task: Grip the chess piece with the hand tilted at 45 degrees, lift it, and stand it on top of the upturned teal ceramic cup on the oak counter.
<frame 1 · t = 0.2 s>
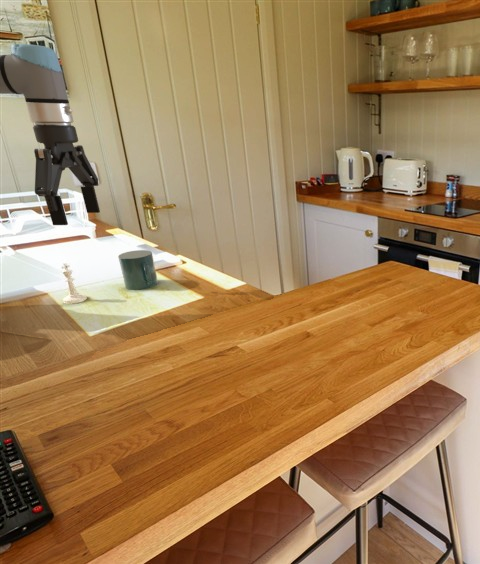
hand: (78, 218, 102), 21 cm above the breakfast bar, tool pointing down, fingers open, 13 cm apart
cup: (141, 284, 120), on the breakfast bar
chess piece: (75, 300, 109), on the breakfast bar
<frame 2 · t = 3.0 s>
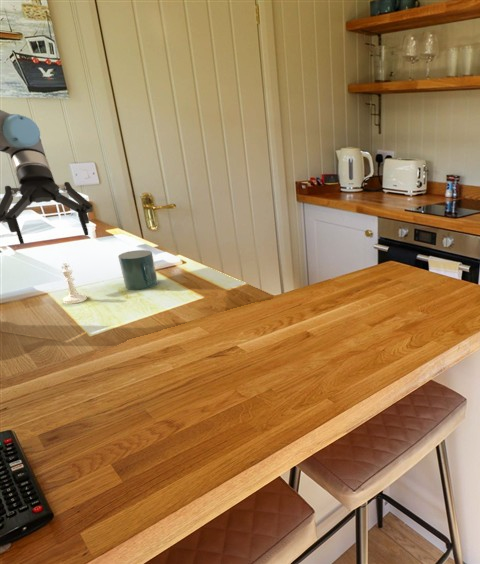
hand: (55, 236, 111), 15 cm above the breakfast bar, tool tilted 45°, fingers open, 13 cm apart
nothing on the breakfast bar moved.
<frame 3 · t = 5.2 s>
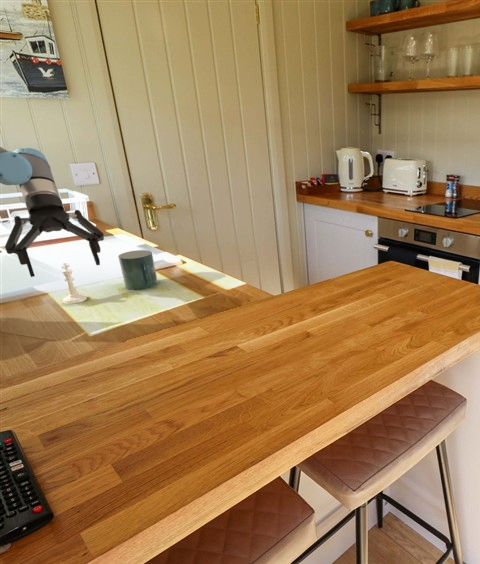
hand: (66, 268, 108), 8 cm above the breakfast bar, tool tilted 45°, fingers open, 13 cm apart
nothing on the breakfast bar moved.
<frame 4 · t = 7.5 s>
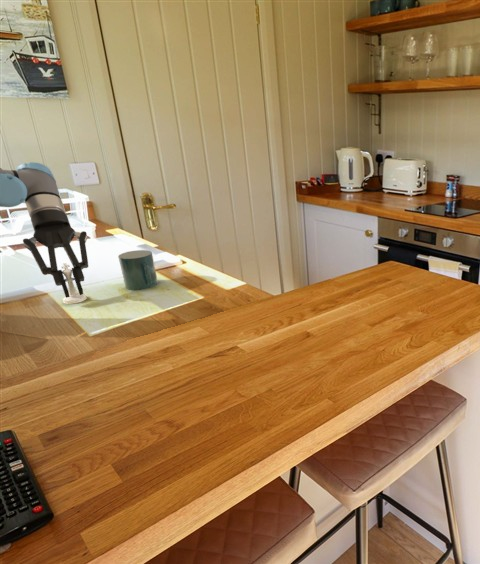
hand: (74, 293, 105), 3 cm above the breakfast bar, tool tilted 45°, fingers closed on chess piece, 2 cm apart
chess piece: (75, 300, 109), on the breakfast bar, touching gripper
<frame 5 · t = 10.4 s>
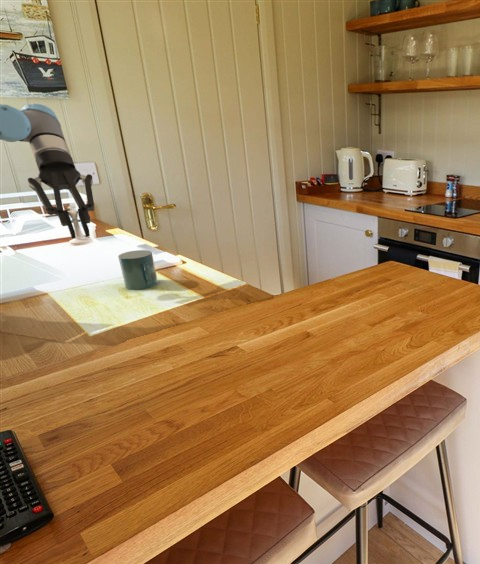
hand: (80, 234, 103), 18 cm above the breakfast bar, tool tilted 45°, fingers closed on chess piece, 2 cm apart
chess piece: (81, 243, 107), point 14 cm above the breakfast bar, touching gripper
when the fingers open (12 cm above the breakfast bar, at t = 13.7 s): chess piece stays where it is, resting on cup.
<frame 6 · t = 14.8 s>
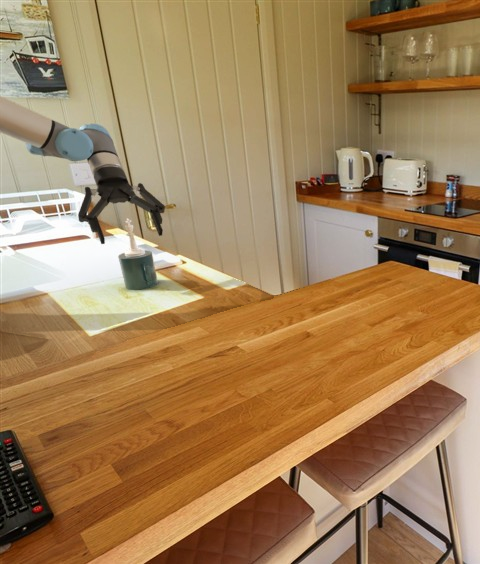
hand: (133, 237, 113), 14 cm above the breakfast bar, tool tilted 45°, fingers open, 13 cm apart
chess piece: (135, 254, 117), point 9 cm above the breakfast bar, touching cup
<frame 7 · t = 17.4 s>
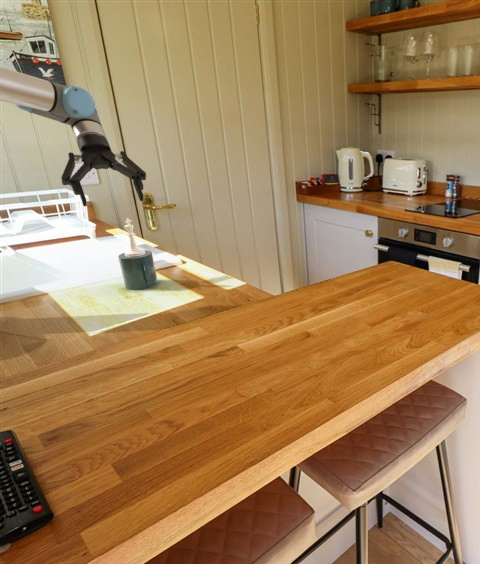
hand: (114, 200, 118), 22 cm above the breakfast bar, tool tilted 45°, fingers open, 13 cm apart
nothing on the breakfast bar moved.
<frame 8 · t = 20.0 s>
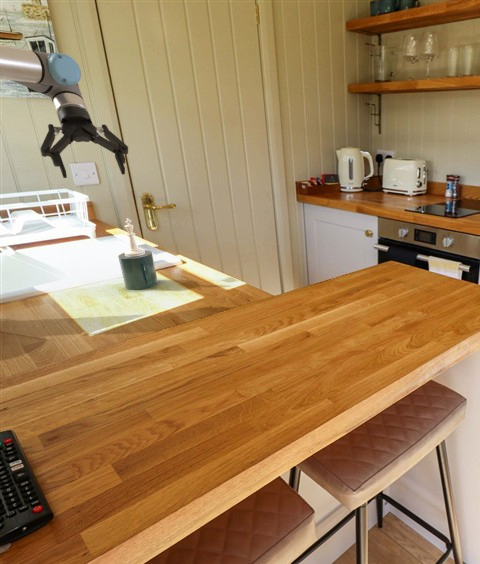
hand: (95, 173, 117), 30 cm above the breakfast bar, tool tilted 45°, fingers open, 13 cm apart
nothing on the breakfast bar moved.
at the end: chess piece 0.0 cm off-centre on the cup, point 8.8 cm above the cup's base; chess piece tilted 0°; the gripper is holding nothing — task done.
